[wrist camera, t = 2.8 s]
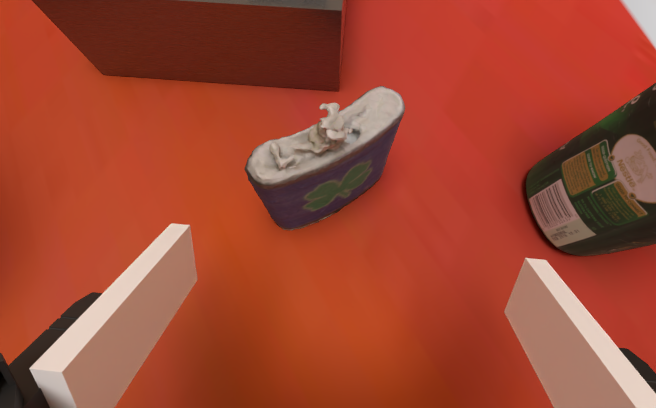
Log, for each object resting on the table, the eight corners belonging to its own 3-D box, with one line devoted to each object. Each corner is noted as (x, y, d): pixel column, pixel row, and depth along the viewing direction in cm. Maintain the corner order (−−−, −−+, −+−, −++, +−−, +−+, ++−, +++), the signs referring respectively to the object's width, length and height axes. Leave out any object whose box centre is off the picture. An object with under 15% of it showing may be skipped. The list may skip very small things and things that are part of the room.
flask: (371, 150, 27) (396, 52, 17) (391, 181, 26) (431, 97, 16) (266, 208, 26) (223, 140, 15) (285, 241, 25) (253, 194, 15)
